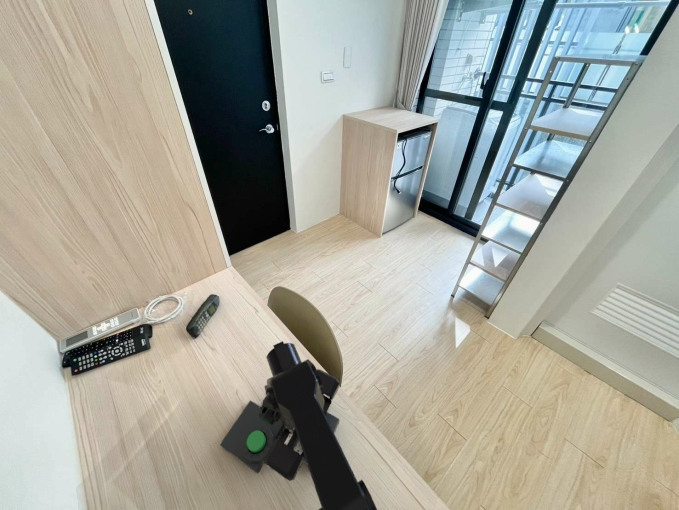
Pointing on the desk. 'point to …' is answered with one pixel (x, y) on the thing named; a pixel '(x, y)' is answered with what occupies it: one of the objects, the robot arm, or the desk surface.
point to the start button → (256, 441)
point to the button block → (240, 433)
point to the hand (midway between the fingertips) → (308, 429)
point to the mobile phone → (202, 316)
